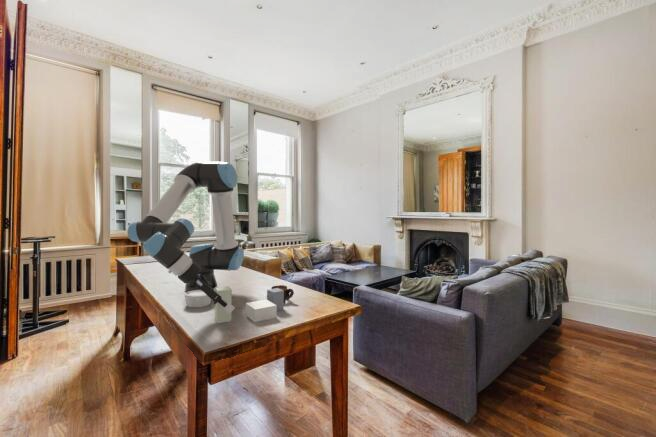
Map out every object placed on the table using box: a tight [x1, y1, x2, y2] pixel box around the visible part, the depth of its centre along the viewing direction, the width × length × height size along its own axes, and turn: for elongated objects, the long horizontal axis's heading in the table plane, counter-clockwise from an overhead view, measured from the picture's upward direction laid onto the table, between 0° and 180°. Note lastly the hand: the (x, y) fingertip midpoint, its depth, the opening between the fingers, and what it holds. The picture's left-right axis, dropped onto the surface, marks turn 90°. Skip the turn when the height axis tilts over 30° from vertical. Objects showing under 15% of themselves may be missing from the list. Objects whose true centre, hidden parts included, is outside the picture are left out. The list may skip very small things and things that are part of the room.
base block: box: [244, 299, 278, 323], centre depth 118 cm, size 9×9×5 cm
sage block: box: [214, 285, 233, 324], centre depth 113 cm, size 5×5×12 cm
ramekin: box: [184, 290, 212, 309], centre depth 130 cm, size 11×11×5 cm
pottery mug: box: [270, 284, 295, 304], centre depth 139 cm, size 12×10×8 cm
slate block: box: [266, 288, 285, 311], centre depth 127 cm, size 5×5×8 cm
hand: (228, 305), depth 114 cm, fingers open, 13 cm apart
